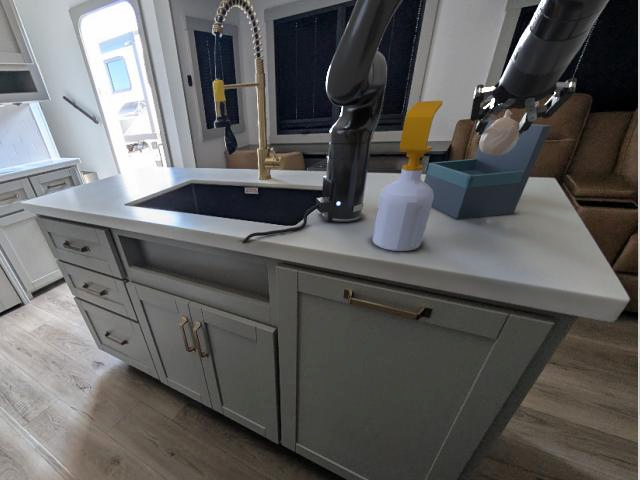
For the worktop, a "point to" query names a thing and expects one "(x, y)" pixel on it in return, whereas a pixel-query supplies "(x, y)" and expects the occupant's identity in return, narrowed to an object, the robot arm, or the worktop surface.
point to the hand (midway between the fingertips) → (499, 130)
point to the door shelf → (486, 178)
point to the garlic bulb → (500, 136)
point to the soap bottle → (408, 187)
